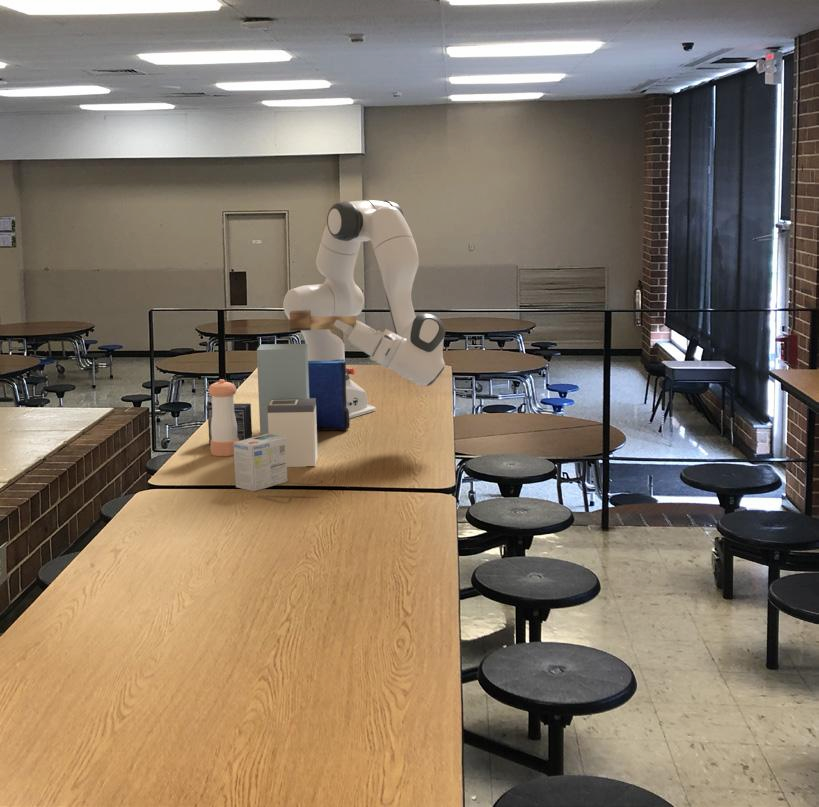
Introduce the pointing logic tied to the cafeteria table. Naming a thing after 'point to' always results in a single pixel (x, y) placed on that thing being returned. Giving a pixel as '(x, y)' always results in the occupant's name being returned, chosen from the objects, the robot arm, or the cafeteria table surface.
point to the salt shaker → (223, 418)
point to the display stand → (281, 375)
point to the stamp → (316, 321)
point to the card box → (295, 429)
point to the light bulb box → (260, 462)
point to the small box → (242, 421)
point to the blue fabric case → (329, 393)
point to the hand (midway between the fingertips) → (335, 320)
